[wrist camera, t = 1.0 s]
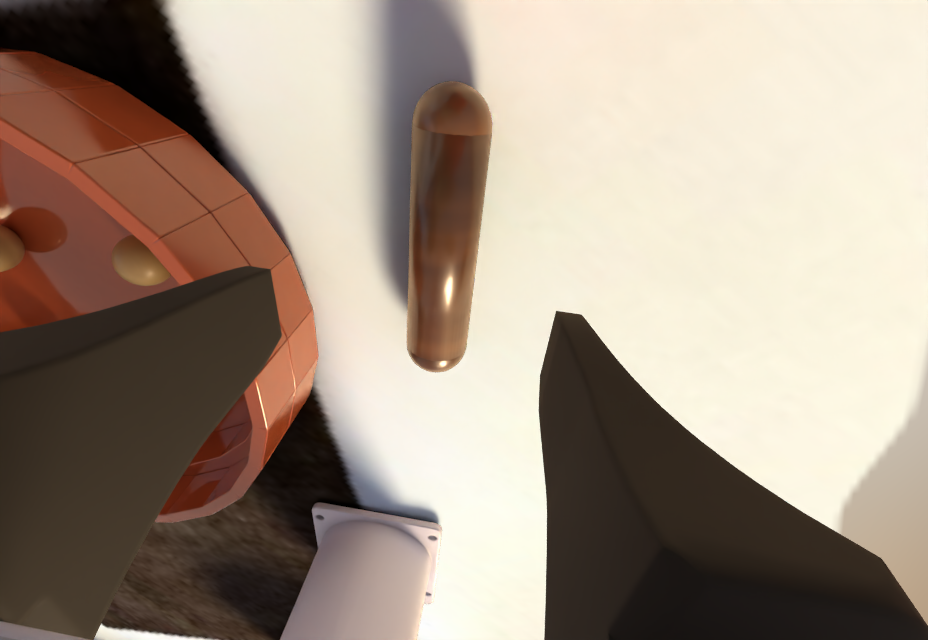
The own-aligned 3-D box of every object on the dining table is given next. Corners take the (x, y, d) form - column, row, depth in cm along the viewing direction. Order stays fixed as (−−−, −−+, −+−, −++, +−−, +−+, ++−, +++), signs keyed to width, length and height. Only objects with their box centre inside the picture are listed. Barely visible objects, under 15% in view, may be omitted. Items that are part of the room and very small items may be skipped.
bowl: (336, 466, 24) (295, 553, 20) (22, 411, 25) (-78, 483, 21) (294, 80, 14) (191, 95, 10) (-237, 17, 15) (-536, 4, 11)
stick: (467, 352, 19) (459, 389, 17) (413, 344, 19) (399, 379, 17) (499, 83, 13) (494, 90, 11) (422, 74, 13) (403, 79, 11)
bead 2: (193, 275, 18) (158, 298, 16) (148, 268, 18) (108, 291, 16) (180, 229, 17) (141, 249, 15) (132, 222, 17) (88, 242, 15)
